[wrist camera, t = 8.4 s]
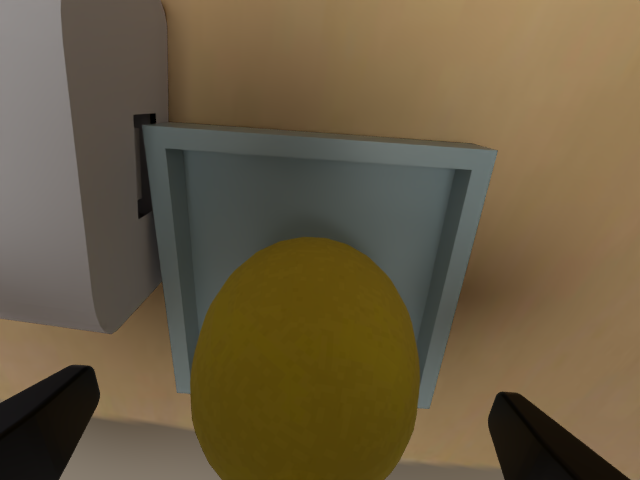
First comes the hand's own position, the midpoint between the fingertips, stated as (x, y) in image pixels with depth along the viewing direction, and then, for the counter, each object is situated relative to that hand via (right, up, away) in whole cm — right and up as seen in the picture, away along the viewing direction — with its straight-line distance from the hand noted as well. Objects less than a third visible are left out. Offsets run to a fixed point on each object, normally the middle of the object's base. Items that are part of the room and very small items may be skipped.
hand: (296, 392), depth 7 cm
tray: (0, +2, +6) cm, 6 cm away
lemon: (0, +2, +5) cm, 6 cm away
